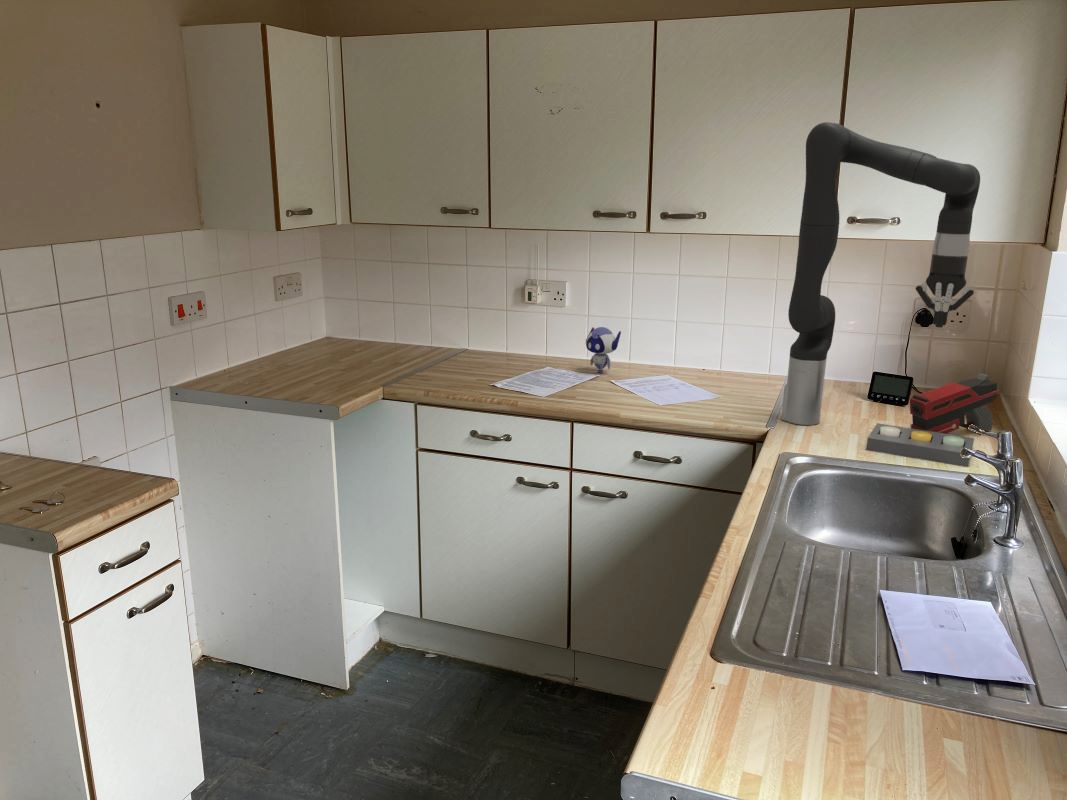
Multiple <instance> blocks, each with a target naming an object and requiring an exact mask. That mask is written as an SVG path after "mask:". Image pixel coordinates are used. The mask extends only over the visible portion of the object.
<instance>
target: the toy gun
mask: <svg viewBox="0 0 1067 800" xmlns="http://www.w3.org/2000/svg"><path fill="white" fill-rule="evenodd" d="M989 379H990V378H989V374H985V373H982V372H981V373H978V374H977V376H976V377H975V378H970V379H966V380H962V381H959V382H953V381H952V382H950V383H947V384H945V385H942V386H938V387H936V388H934V389H930V390H928V391H925V392H923V393H920V394H914V395H912V396H911V397H909V411H910V413H909V414H910V415H912V423H911V424H910V428H912V429H918V430H925V431H931V432H938V433H944V434H949V433H950V434H951V433H953V432H955V431H957V430H960V428H964V429H966V430H968V427H969V425H971V424H973V425H975V426H977V427H978V428H979V429H981V430H984V431H988V432H990V431H991V430H992V429H993V415H992V412H991V411H990V409H989V407H988V405H989V404H991V403H993V402H994V401H995V400H996V398H997V397H998V395H997V394H999V393H1000V390H999V389H998V387H997V386H998V383H997V382H995V381H991V380H989ZM989 430H990V431H989ZM968 431H969V430H968Z"/></svg>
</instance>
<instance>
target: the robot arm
mask: <svg viewBox="0 0 1067 800" xmlns="http://www.w3.org/2000/svg"><path fill="white" fill-rule="evenodd" d="M840 163H847V164H852V165H853V164H855V165H859V166H863V167H866V168H870V169H872V170H875V171H877V172H879V173H882V174H885V175H887V176H889V177H892V178H896V179H898V180H901V181H905V182H908V183H911V184H915V185H918V186H919V185H920V186H926V187H928V188H930V189H933V190H935V191H937V192H941V193H943V194H945V195H944V200H943V206H942V208H941V210H940V212H939V214H938V220H937V226H936V233H935V237H934V241H933V246H932V253H931V260H930V267H929V274H928V276H927V278H926V280H925V282H923V283H921V284H917V286H916V287H915V291H916V292H917V294H918V295H919V297H920V298H921V300H922V301H923V303H924V304H925V305H926V307H927V308H928V309H931V310H933V312H934V313H933V318H932V319H933V320H932V324H933V325H935V328H941V329H942V328H943V326H946V324H947V322H948V315H949V312H951V311H957V309H959V308H960V307H961V306H962V305H963V304H964V303H965V302H966V301H967V300H969V299H970V298H971V297H972V296H973V295H974V293H975V289H974V288H973V289H972V288H971V287H969V285H967V280H966V271H967V265H968V264H967V263H968V257H969V253H970V246H971V245H970V241H971V239H970V237H971V229H972V223H973V213H974V212H973V211H974V209H975V205H976V201H977V199H978V194H979V190H980V184H981V174H980V171H979V169H978V168H977V167H976V166H975V165H972V164H969V163H961V162H956V161H951V160H948V159H943V158H939V157H937V156H935V155H933V154H930V153H927V152H923V151H921V150H920V151H919V150H916V149H913V148H908V147H904V146H900V145H895V144H890V143H887V142H886V143H885V142H881V141H878V140H874V139H871V138H869V137H866V136H863V135H861V134H859V133H857V132H855V131H853V130H851V129H849V128H847V127H846V126H844V125H843V124H840V123H835V122H829V121H828V122H827V121H825V122H820V123H817V124H816V125H815V126H814V127H813V128H812V129H811V130H810V132H809V133H808V135H807V137H806V140H805V185H804V192H803V197H802V199H803V200H802V208H801V216H800V224H799V233H798V234H799V235H798V248H797V256H796V257H797V258H796V265H795V274H794V275H795V276H794V281H793V286H792V291H791V296H790V301H789V306H788V311H787V312H788V316H787V317H788V322H789V324H790V326H791V328H792V329H793V330H794V331H796V332H797V333H799V334H798V337H797V338H796V340H795V341H794V342H793V344H791V346H790V350H789V357H788V358H789V360H788V370H787V380H786V384H784V388H783V389H784V390H783V396H782V397H783V399H782V406H781V407H782V409H781V418H780V419H781V421H785V422H787V423H790V424H795V425H802V426H814V425H818V424H819V423H820V421H821V410H822V403H823V396H824V395H823V394H824V393H823V392H824V385H825V376H826V375H825V374H826V369H827V368H826V367H827V358H828V353H829V350H830V349H831V346H832V342H833V338H834V337H833V336H834V330H835V324H836V308H835V305H834V302H833V301H832V300H831V299H830V298H829V297H828V296H825V295H822V294H821V293H822V285H823V284H822V283H823V280H824V279H823V278H824V276H825V273H826V271H827V269H828V266H829V265H830V263H831V260H832V258H833V255H834V253H835V251H836V247H837V244H838V237H839V229H840V208H839V207H840V205H839V200H838V194H837V175H838V168H839V164H840ZM928 289H929V290H930V291H931V293H932V294H933V296H935V297H934V301H932V298H930V296H929V295H928ZM960 291H961V294H962V295H961V297H959V298H958V299H957V300H956V301H955V302H954V303H952V304H951V302H952V298H953V297H955V296H957V294H958V293H960ZM943 297H944V301H943ZM942 303H943V304H942ZM942 305H943V307H942Z"/></svg>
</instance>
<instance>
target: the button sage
mask: <svg viewBox="0 0 1067 800" xmlns="http://www.w3.org/2000/svg"><path fill="white" fill-rule="evenodd" d="M943 444H944V445H950V446H956V447H963V445H964V439H963V438H960V437H956V436H944V438H943Z"/></svg>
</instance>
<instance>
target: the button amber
mask: <svg viewBox="0 0 1067 800" xmlns="http://www.w3.org/2000/svg"><path fill="white" fill-rule="evenodd" d="M931 436H932V435H931V434H930V433H928V432H923V431H913V432H912V433H911V439H912V440H919V441H925V442H931Z"/></svg>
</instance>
